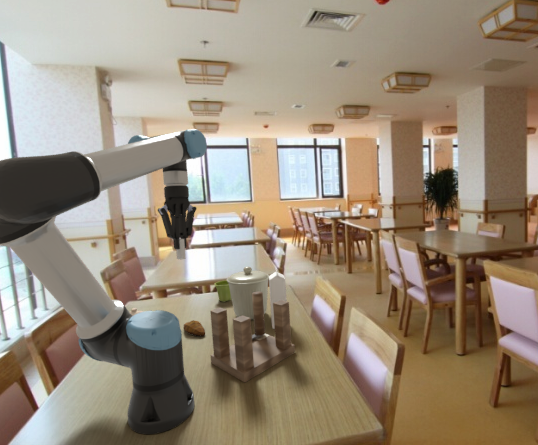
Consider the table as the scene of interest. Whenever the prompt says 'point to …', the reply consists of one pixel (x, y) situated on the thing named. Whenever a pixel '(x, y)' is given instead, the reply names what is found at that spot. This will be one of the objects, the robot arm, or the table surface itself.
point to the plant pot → (223, 291)
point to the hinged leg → (258, 314)
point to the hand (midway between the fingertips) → (181, 258)
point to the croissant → (194, 328)
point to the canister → (247, 290)
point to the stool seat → (250, 343)
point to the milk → (276, 290)
